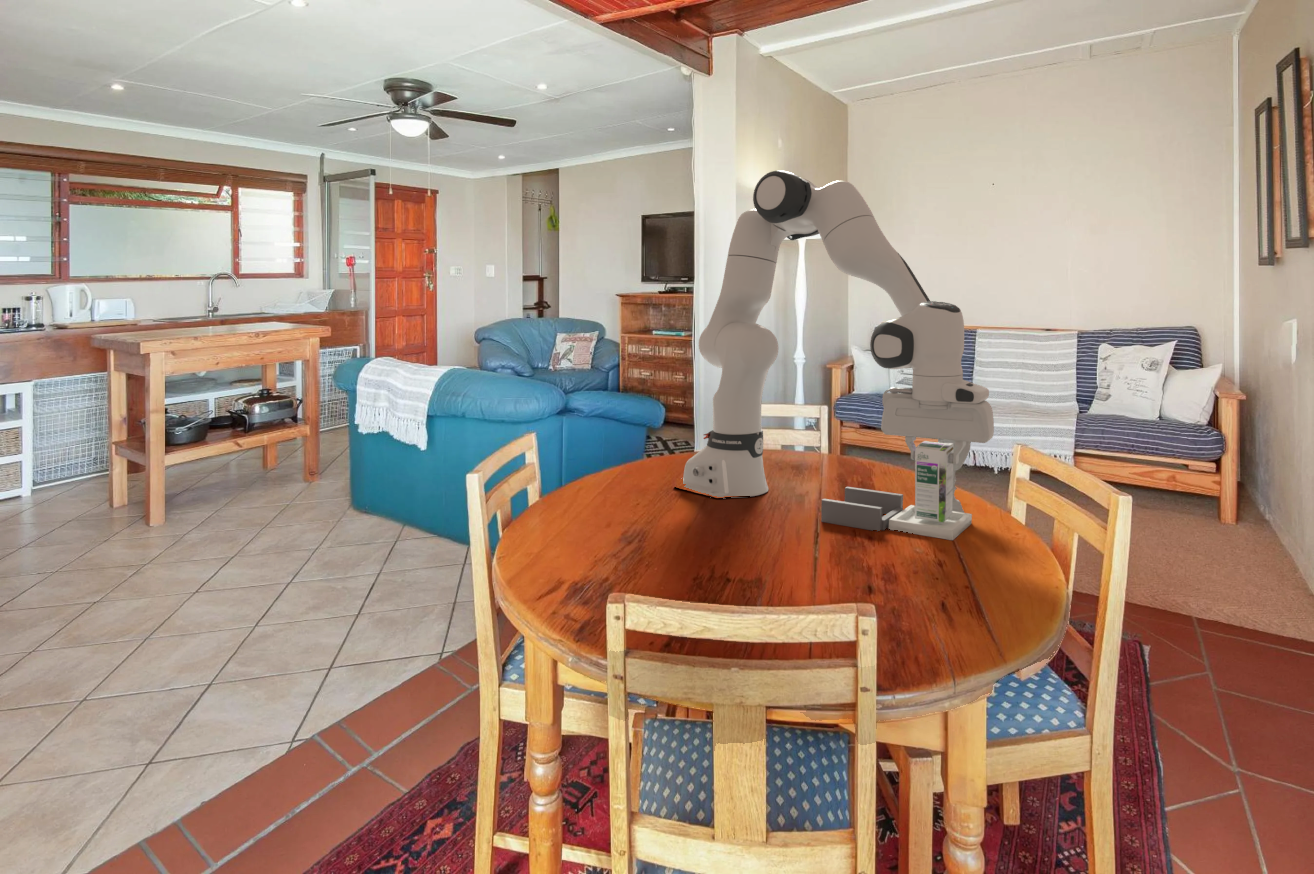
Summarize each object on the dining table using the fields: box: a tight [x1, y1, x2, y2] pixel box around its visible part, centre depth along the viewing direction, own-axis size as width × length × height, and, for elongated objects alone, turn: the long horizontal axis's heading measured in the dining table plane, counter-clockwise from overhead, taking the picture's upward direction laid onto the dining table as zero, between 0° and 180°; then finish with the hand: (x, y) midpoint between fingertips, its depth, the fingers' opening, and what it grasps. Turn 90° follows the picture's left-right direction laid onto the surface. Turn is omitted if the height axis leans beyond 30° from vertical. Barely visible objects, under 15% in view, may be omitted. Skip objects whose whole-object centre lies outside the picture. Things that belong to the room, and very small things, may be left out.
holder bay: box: [820, 486, 904, 532], centre depth 153 cm, size 12×12×4 cm
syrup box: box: [914, 440, 953, 523], centre depth 147 cm, size 6×6×14 cm
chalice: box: [937, 439, 972, 513], centre depth 156 cm, size 7×7×18 cm
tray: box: [888, 504, 973, 541], centre depth 148 cm, size 12×12×2 cm
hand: (934, 461), depth 146 cm, fingers closed on syrup box, 6 cm apart
